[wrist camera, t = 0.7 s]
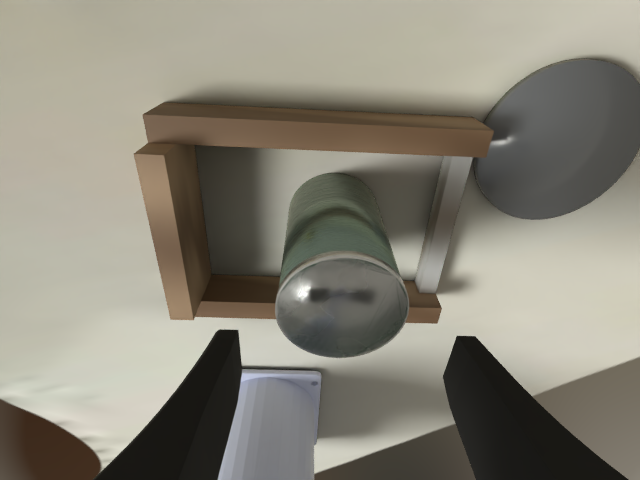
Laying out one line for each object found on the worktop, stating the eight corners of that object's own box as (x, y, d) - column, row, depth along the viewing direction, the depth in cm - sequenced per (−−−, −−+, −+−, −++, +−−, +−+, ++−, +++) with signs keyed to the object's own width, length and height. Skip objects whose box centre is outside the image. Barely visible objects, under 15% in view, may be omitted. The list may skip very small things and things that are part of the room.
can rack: (426, 296, 24) (444, 342, 21) (194, 289, 23) (174, 335, 20) (472, 117, 18) (509, 141, 15) (163, 102, 17) (126, 123, 14)
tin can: (372, 253, 22) (397, 359, 15) (288, 250, 22) (275, 356, 15) (384, 174, 20) (420, 259, 13) (288, 170, 19) (273, 254, 13)
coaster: (594, 217, 21) (601, 222, 20) (457, 211, 21) (460, 216, 20) (670, 63, 17) (682, 65, 16) (500, 54, 17) (506, 55, 16)
